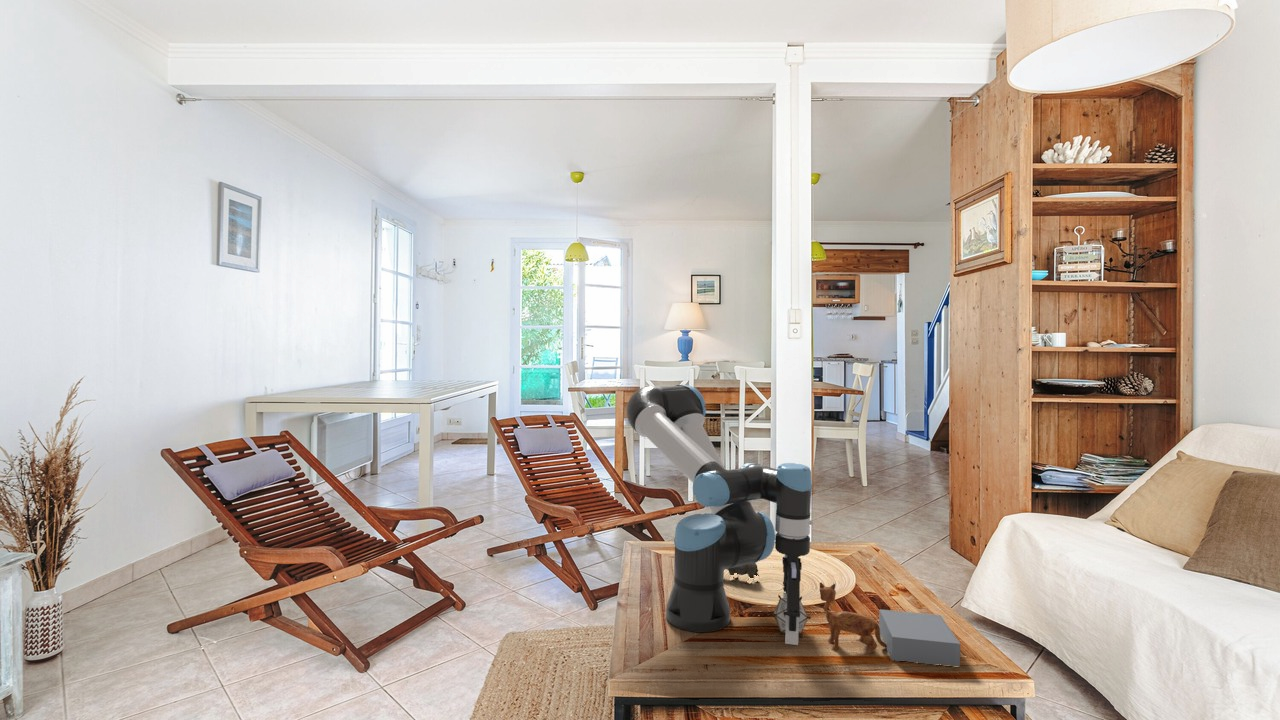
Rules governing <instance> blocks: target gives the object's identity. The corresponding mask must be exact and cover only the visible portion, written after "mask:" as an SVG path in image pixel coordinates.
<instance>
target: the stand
mask: <svg viewBox="0 0 1280 720" xmlns="http://www.w3.org/2000/svg"><path fill="white" fill-rule="evenodd" d="M878 612H879V613H878V625H879V628H880V637H881V640H882V641H883V642H884V643H886V644H887V648H885V649H886V651H887V653H888V655H890V656H889V658H890V660H891V661H893V662H899V661H908V662H918V663H925V664H924V665H927V664H939V665H940V664H941V665H950V666H959V667H961V642H960V641H959V639H958V637H956V636H955V634H954V632H953V630H952V629H951V628H950V626H949V625H948V624H947V622H946V621H945V619H944V618H943V617H942V615H941V614H933V613H921V612H913V611H900V610H889V609H881V608H880V609H879V611H878ZM894 660H895V661H894ZM908 662H907V663H908ZM918 663H917V664H918Z"/></svg>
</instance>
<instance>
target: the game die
mask: <svg viewBox="0 0 1280 720" xmlns="http://www.w3.org/2000/svg"><path fill="white" fill-rule="evenodd" d="M777 595H778V596H777V597H778V599H779V600H778V602H777V605H776V606H775V609H774V612H770V613H769V614H770V615H771V616H773V617H774V619H775V622H776V625H777V626H778V628H779V629H778V630H779V632H778V636H781V635H782V633H785V627H786V615H783V612H786V611H787V598H783V597H781V595H780V594H777ZM802 599H803V596H800V617H799V632H798V635H799V634H800V637H801V638H803V637H804V634H803V633H802V632H803V631H804V628H805V625H806V623H807V621H808V620H811V619H812V616H809V615H808V614H807V611H806V609H805V607H804V605H803V603H802V601H801V600H802Z"/></svg>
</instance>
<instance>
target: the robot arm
mask: <svg viewBox="0 0 1280 720" xmlns="http://www.w3.org/2000/svg"><path fill="white" fill-rule="evenodd" d="M705 407H706V401H705V399H704V396H703V395H702V393H701V392H700V390H699V389H697V387H693V386H691V385H685V384H676V385H661V386H659V385H657V386H656V385H654V386H653V385H651V386H649V385H648V386H644V387H641V388H640V389H638V390H636V391H635V392H633V394H632V395H631V396H630V397H629V399H628V402H627V405H626V418H627V421H628V423H629V424H630V426H631V428H632V429H633V430H634V432H635V433H636V434H638V435H639V436H640V437H641V438H642V437H643V438H647V439H648V440H649V441H650V442H651V443H652V444H653V445H654V446H655V447H656V448H657V449H658V450H659V451H660V452H661V453H662V454H663V455H664V456H665V457H666V458H667V459H668V460H669V461H670V462H671V463H673V465H674V466H675V467H676V468H677V469H678V470H679V471H680V472H681V473H682V474H683V475H684V476H685V477H686V478H687V479H688V480H689V481H690V482H691V483H692V493H693V495H694V497H695V500H696V502H697V503H698V504H699V505H700V506H702V507H705V508H708V509H709V511H710V513H706V512H705V513H703V514H702V513H695V514H692V515H691V514H690V515H688V516H685V517H683V518H681V519H680V520H679V521H678V522H677V524H676V526H675V532H674V539H673V543H674V544H673V545H674V560H673V561H674V563H673V564H674V566H673V567H674V570H673V573H674V574H673V585H672V588H671V591H670V594H669V596H668V600H667V603H666V605H665V606H666V607H665V618H666V620H667V621H668V622H669V623H670V624H671V625H672V626H675V628H678V629H681V630H684V631H689V632H696V633H711V632H716V631H719V630H722V629H724V628H726V627H727V626H728V625H729V624H730V622H731V608H730V605H729V601H728V597H727V594H726V591H725V588H724V586H725V585H724V578H725V577H724V576H725V572H724V571H726V569H729V568H734V567H738V566H742V565H746V564H750V563H751V564H753V563H756V564H757V563H758V562H760V561H764V560H765V559H767V558H769V556H770V555H771V554H772V552H773V551H774V548H775V550H776V551H777V553H779V554H781V555H784V556H782V572H783V581H782V585H783V589H782V590H783V595H782V598H787V611H786V612H783V615H786V627H785V632H784V633H785V634H784V644H785V645H793V646H799V634H798V632H799V617H800V597H801V596H800V595H801V594H800V593H801V592H800V591H801V590H800V585H801V583H800V582H801V581H802V578H801V571H802V567H803V565H802V561H801V560H802V559H801V558H800V557H804V556H807V555H809V554H810V551H811V550H810V549H811V538H810V536H809V535H810V533H811V526H812V525H814V521H813V520H812V519H811V515H812V513H811V505H812V492H813V491H812V489H813V482H812V470H811V469H810V467H809V466H807V465H806V464H805V465H804V464H800V463H794V462H793V463H792V462H785V463H780V464H778V466H777V467H776V468H773V467H769V466H766V465H763V464H761V463H752V462H747V463H744V464H743V465H742V466H740V467H739V468H734V469H733V468H732V469H726V467H725V465H724V462H722V459H721V458H720V456H719V454H718V452H717V450H716V448H715V446H714V444H713V443H712V441H711V439H710V437H709V435H708V433H707V431H706V429H705V428H704V424H705V420H706V418H705V417H706V413H707V408H705ZM760 499H761V500H766V501H769V502H772V503H775V508H776V509H775V523H774V524H775V526H774V524H773V522H772V520H771V519H770V517H769V516H768V515H767V514H766V513H764V512H761V511H755V509H754V507H753V505H752V504H751V501H753V500H754V501H755V500H760ZM775 532H776V533H775Z"/></svg>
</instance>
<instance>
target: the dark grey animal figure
mask: <svg viewBox="0 0 1280 720" xmlns="http://www.w3.org/2000/svg"><path fill="white" fill-rule="evenodd" d="M726 570H727V571H728V573H729V576H730V575H734V573H737V575H738V576H739V575H740V576H744V575H748V578H749V577H750V578H754V579H755V576H754V575H756V576H757V575H758V576H759V577H760V575H759V569H758V565H757V563H753V564H751V563H750V564H746V565H742V566H738V567H734V568H729V569H725V571H726Z"/></svg>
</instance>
